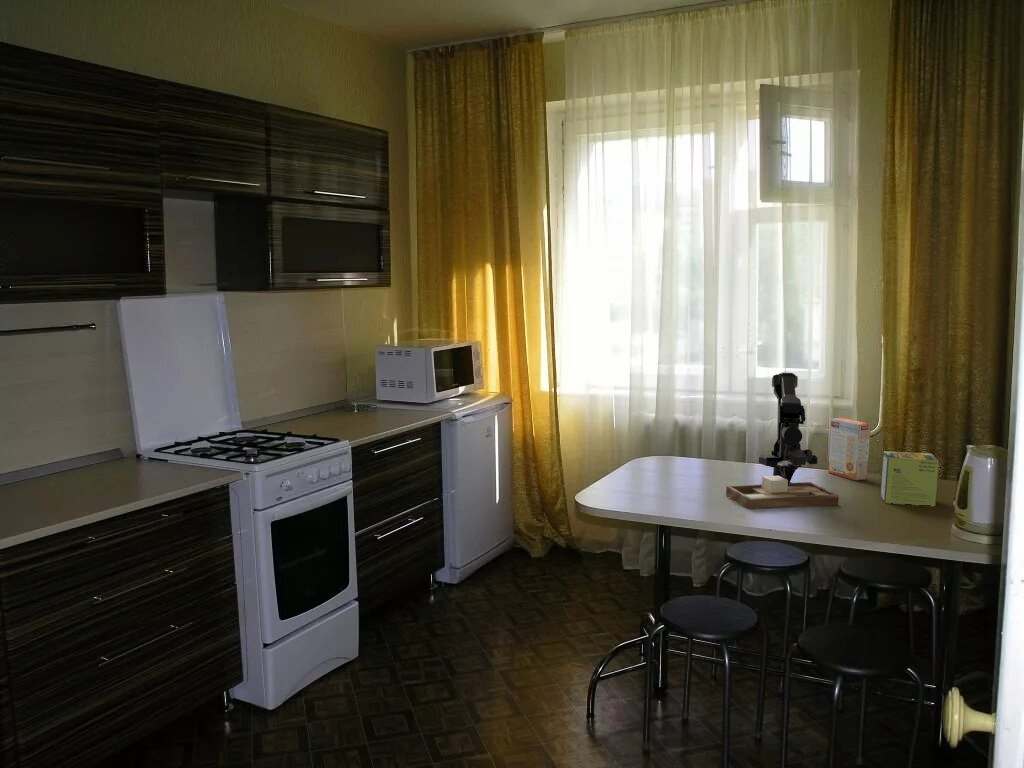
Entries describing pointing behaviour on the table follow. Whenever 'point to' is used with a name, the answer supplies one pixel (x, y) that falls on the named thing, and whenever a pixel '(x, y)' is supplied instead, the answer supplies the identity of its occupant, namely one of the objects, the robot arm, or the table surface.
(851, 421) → the cracker box
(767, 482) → the cream block
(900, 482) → the protein box
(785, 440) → the robot arm
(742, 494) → the tray
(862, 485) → the table surface
